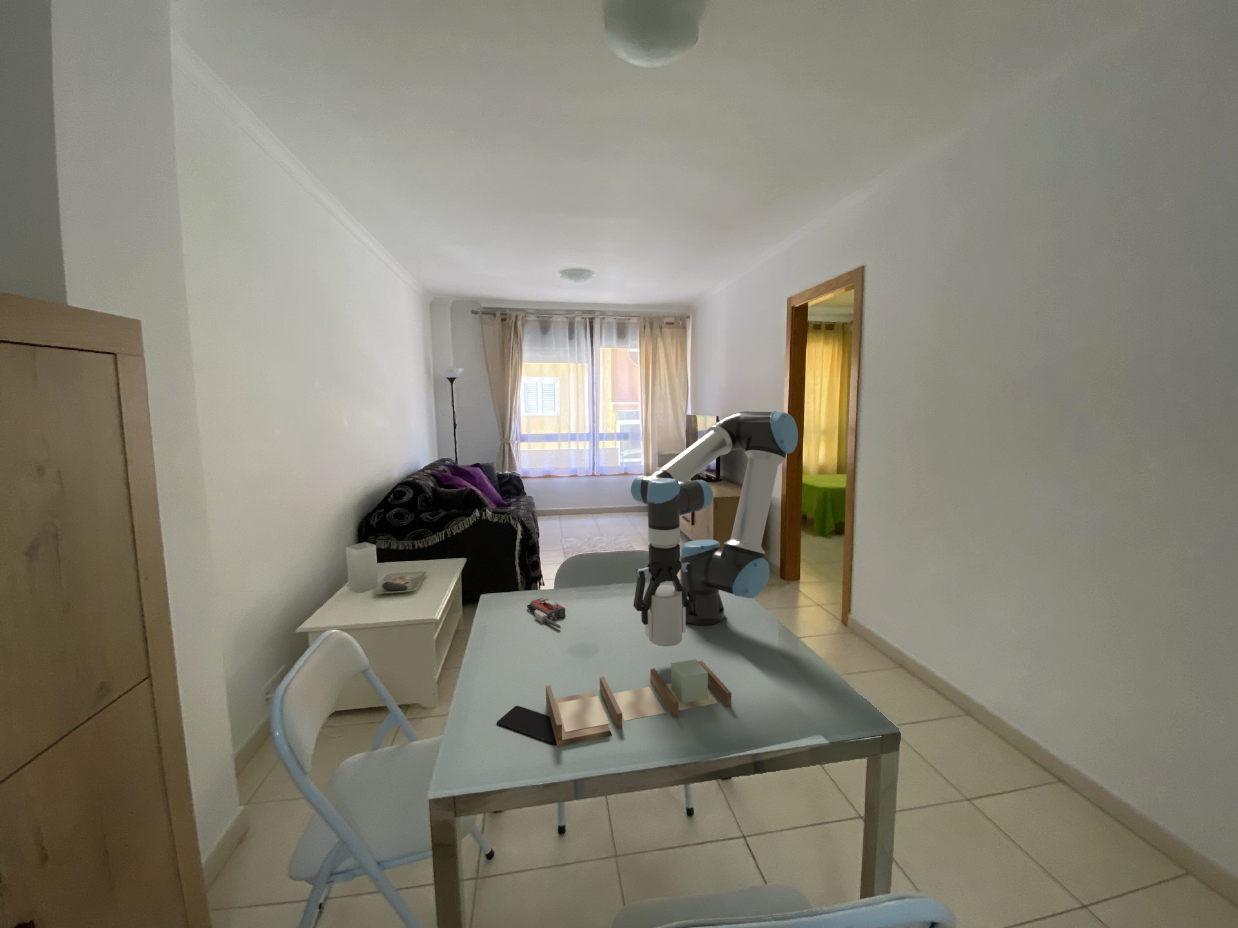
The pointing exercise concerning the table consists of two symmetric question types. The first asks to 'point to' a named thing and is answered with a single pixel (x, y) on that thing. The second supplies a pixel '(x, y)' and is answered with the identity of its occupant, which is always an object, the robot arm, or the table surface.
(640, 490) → the robot arm
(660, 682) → the frame
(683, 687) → the sage block
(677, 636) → the white cylinder
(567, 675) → the table surface
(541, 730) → the smartphone
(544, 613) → the walkie-talkie
